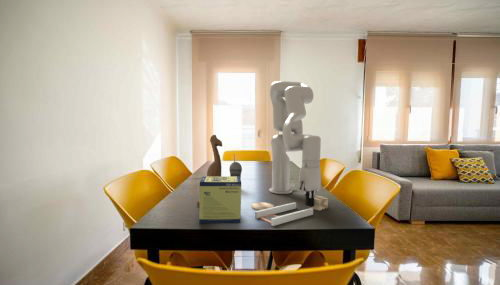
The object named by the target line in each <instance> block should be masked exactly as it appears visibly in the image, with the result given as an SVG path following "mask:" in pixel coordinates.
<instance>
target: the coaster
mask: <svg viewBox="0 0 500 285" xmlns="http://www.w3.org/2000/svg"><path fill="white" fill-rule="evenodd" d="M250 206H251V207H250V208H252V209H253V210H255V211H259V210H264V209H268V208H272V207H275V205H274V204H272V203H270V202H265V201H264V202H262V201H261V202H254V203H252V204H251V205H250Z"/></svg>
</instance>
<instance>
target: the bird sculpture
mask: <svg viewBox="0 0 500 285" xmlns="http://www.w3.org/2000/svg"><path fill="white" fill-rule="evenodd" d="M209 142H210V145H211V148H212V154H213V161H212V162H211V164H209V166H208V167H207V170H206V176H208V177H222V159H221V156H220V152H219V150H218V147H223V142H222V140H221V139H219V138H218V137H217V135H216V134H213V135H212V136H210V138H209ZM196 205H197V207H199V200H197V201H196Z"/></svg>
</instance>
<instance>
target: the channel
mask: <svg viewBox="0 0 500 285" xmlns="http://www.w3.org/2000/svg"><path fill="white" fill-rule="evenodd" d="M296 209H297V202H295V201H294V202H290V203H285V204H282V205H281V204H280V205H277V206H274V207H272V208H268V209H264V210H255V211H254V212H255V213H254V214H255V219H260V218H259V217H263V216H267V215H271V214H274V215H276V214H280V213H283V212H284V213H285V212H287V211H292V210H296ZM313 215H314V209H313V208H310V207H308V208H306V209H302V210H299V211H298V210H297V211H294V212H291V213H287V214H283V215H278V216H279V217H275V218H271V223H270V224H271V225H270V226H272V227H275V226H278V225H281V224H282V225H283V224H286V223H288V222H291V221H296V220H299V219H302V218H305V217H309V216H313Z"/></svg>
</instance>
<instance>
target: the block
mask: <svg viewBox="0 0 500 285" xmlns="http://www.w3.org/2000/svg"><path fill="white" fill-rule="evenodd" d="M328 206H329V198H328V197H324V196H321V195H318V194H317V195H316V194H315V197H314V206H313V207H309V206H307V207H308V208H313V210H317V211H323V210H326V209H328ZM325 208H326V209H325ZM322 209H323V210H322Z"/></svg>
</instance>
